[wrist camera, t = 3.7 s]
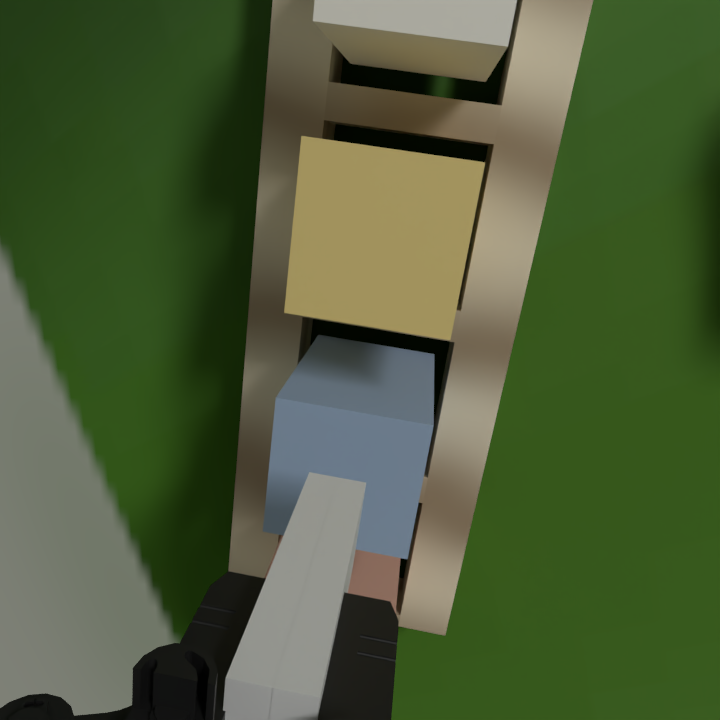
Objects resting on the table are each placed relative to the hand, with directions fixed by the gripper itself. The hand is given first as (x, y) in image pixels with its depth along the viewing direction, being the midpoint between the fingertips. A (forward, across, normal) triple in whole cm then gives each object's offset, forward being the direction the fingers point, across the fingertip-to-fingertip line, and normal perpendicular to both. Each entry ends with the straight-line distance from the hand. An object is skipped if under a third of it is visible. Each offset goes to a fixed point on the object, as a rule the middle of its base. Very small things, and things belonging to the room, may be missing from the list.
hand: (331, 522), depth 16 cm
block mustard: (+8, 0, +7) cm, 11 cm away
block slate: (+9, 0, 0) cm, 9 cm away
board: (+11, 0, +4) cm, 11 cm away
